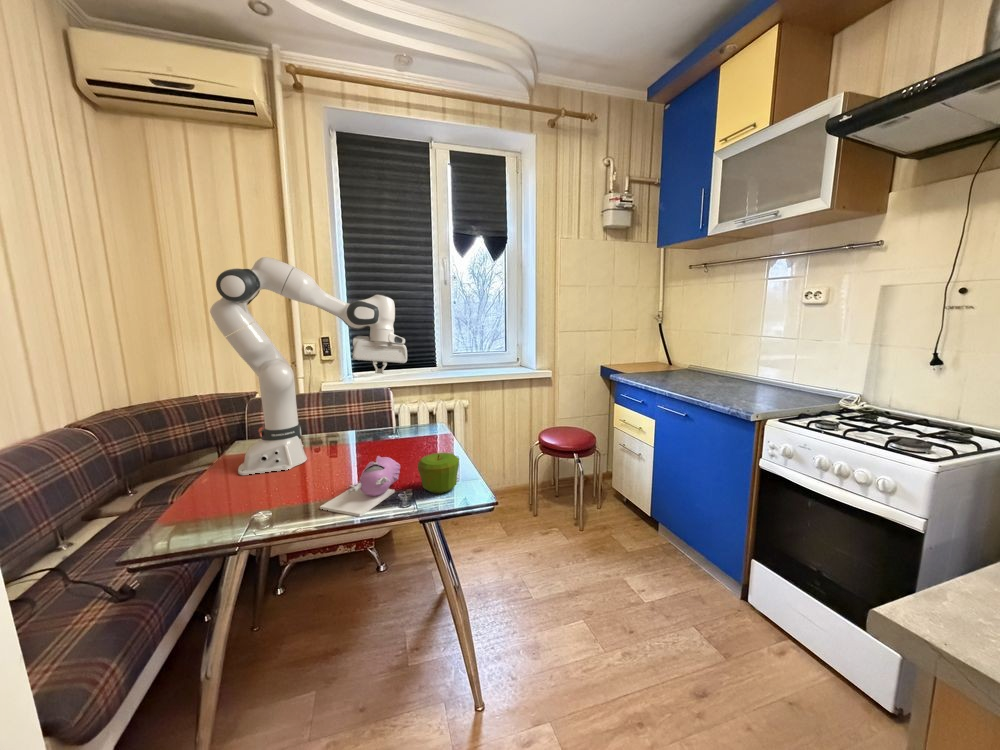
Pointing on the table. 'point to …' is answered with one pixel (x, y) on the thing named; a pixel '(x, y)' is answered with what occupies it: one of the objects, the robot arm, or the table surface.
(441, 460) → the apple
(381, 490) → the toy character
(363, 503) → the mat
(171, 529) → the table surface
